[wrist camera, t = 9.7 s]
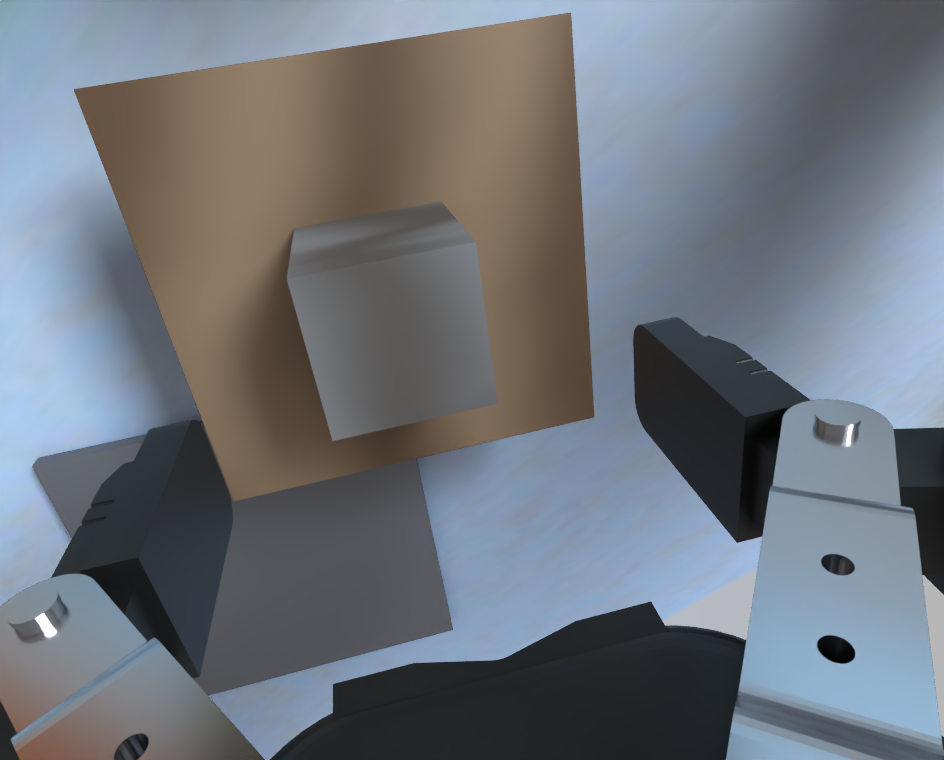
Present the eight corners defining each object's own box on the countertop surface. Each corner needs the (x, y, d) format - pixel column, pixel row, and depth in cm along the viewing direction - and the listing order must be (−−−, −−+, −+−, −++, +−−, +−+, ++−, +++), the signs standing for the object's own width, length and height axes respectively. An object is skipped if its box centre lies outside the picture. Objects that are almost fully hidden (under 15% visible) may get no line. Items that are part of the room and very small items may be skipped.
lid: (557, 14, 17) (651, -2, 12) (583, 403, 23) (654, 495, 18) (86, 87, 16) (-16, 100, 11) (237, 483, 21) (213, 607, 17)
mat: (399, 379, 26) (400, 385, 26) (450, 620, 33) (452, 629, 32) (38, 458, 25) (32, 466, 24) (168, 695, 31) (165, 706, 31)
